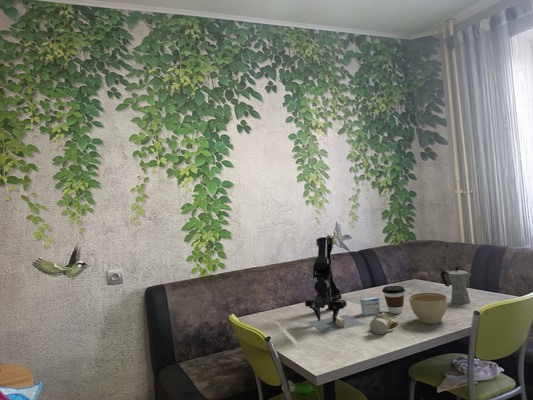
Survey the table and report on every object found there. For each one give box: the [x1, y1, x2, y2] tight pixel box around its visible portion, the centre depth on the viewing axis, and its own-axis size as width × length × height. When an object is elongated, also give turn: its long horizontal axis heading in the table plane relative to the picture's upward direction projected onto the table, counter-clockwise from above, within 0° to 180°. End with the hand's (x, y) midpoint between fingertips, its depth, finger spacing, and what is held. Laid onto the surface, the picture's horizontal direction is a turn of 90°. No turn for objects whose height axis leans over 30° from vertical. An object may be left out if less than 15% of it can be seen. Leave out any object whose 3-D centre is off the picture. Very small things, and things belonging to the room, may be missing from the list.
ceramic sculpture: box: [369, 311, 399, 335], centre depth 173 cm, size 11×9×15 cm
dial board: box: [308, 314, 365, 334], centre depth 186 cm, size 18×21×2 cm
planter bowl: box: [408, 291, 448, 325], centre depth 179 cm, size 16×16×11 cm
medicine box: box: [360, 296, 381, 317], centre depth 195 cm, size 8×4×9 cm, turn 105°
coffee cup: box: [382, 285, 406, 315], centre depth 197 cm, size 11×11×12 cm
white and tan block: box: [331, 313, 345, 327], centre depth 184 cm, size 11×4×3 cm, turn 10°
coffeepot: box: [439, 266, 472, 305], centre depth 203 cm, size 15×9×18 cm, turn 44°
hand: (327, 321), depth 184 cm, fingers open, 7 cm apart
